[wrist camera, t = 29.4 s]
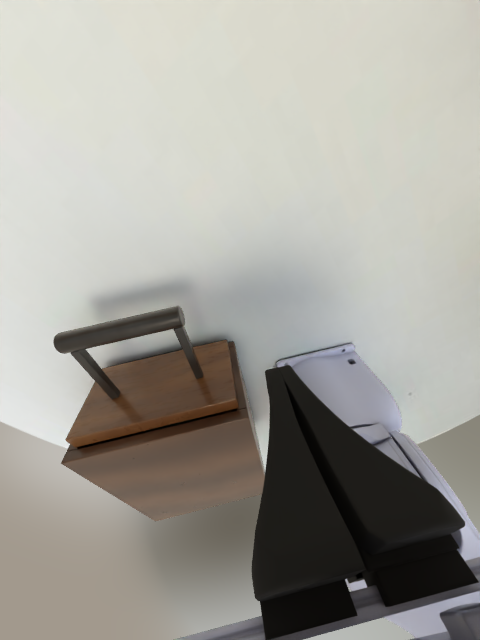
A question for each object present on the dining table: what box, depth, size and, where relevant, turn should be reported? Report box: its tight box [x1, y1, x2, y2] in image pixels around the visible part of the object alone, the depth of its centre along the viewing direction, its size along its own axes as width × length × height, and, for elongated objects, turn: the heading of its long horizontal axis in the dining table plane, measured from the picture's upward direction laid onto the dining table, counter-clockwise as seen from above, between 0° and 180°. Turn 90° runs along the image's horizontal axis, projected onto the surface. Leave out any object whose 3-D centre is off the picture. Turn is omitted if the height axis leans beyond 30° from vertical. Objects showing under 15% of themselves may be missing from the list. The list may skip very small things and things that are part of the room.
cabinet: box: [61, 342, 265, 521], centre depth 23 cm, size 17×14×9 cm
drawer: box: [54, 306, 239, 447], centre depth 20 cm, size 22×12×7 cm, turn 10°
